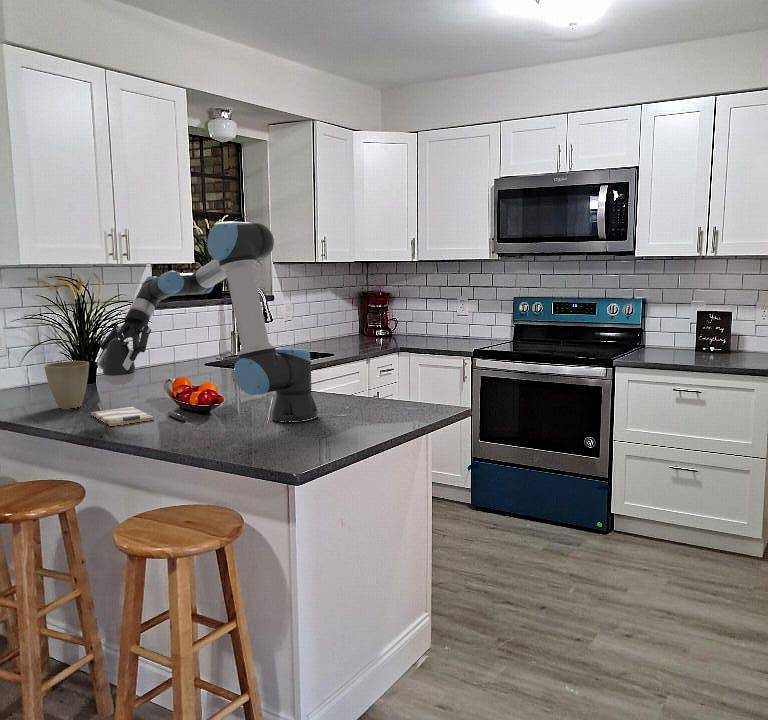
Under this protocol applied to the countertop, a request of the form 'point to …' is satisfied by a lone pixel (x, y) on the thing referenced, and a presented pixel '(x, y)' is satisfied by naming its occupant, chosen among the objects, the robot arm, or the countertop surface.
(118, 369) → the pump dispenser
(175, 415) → the black marker
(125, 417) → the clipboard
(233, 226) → the robot arm
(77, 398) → the plant pot
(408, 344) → the countertop surface
